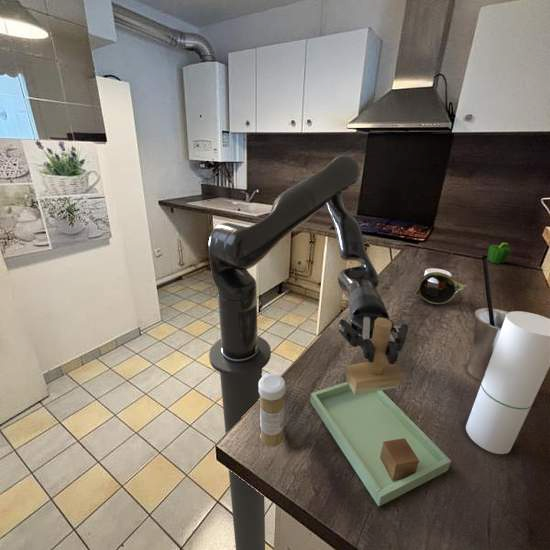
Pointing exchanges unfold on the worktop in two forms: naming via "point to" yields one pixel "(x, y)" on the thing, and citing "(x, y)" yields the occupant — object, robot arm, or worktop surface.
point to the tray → (376, 438)
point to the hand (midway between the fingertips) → (382, 358)
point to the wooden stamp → (375, 365)
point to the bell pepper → (498, 253)
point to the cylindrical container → (510, 381)
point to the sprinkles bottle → (271, 409)
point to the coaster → (436, 271)
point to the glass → (485, 331)
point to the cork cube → (398, 459)
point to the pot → (444, 282)
